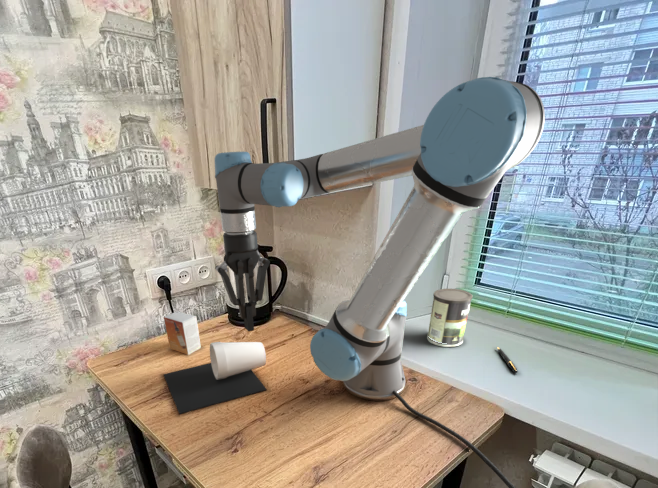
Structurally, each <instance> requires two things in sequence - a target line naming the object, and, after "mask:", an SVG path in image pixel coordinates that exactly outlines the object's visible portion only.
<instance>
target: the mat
mask: <svg viewBox="0 0 658 488" xmlns="http://www.w3.org/2000/svg"><path fill="white" fill-rule="evenodd" d="M163 378H164V380H165V383H166V385H167V387H168V391H169V393H170V395H171V399H172V400H173V402H174V405H175V407H176V410H177V412H178V415H182V414H186V413H191V412H194V411H197V410H201V409H205V408H208V407H211V406H216V405H219V404H222V403H227V402H230V401H234V400H237V399H241V398H244V397H248V396H252V395H255V394H258V393H262V392H266V391H268V390H267V387H265V385H264V384H263V383H262V381H261V380H260V379H259V378H258V376H257V375H256V374H255V372H254V371H253V369H252V370H249V371H245V372H242V373H239V374H235V375H232V376H229V377H226V378H224V379H218V380H217V379H216V378H215V376H214V373H213V369H212V365H211V362H208V363H205V364H204V363H203V364H201V365H197V366H192V367H188V368H184V369H179V370H176V371H175V370H174V371H172V372H167V373H163Z"/></svg>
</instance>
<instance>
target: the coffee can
mask: <svg viewBox="0 0 658 488" xmlns="http://www.w3.org/2000/svg"><path fill="white" fill-rule="evenodd" d="M432 298H433V299H432V305H431V312H430V318H429V324H428V329H427V330H428V331H427V336H426V339H427V341H428V342H429V343H430V344H433V345H435V346H439V347H444V348H453V347H459V346H460V345H463V343H464V336H465V331H466V327H467V321H468V317H469V313H470V309H471V308H470V307H471V303H472V300H473V294H472V293H470V292H469V291H466V290H464V289H459V288H440V289H437V290H435V291H434V292H433V297H432ZM428 336H429V337H430V338H432V339H434V340H436V341H438V342H442V343H447V344H442V343H438V342H435V341H433V340H431V339H430V338H429V337H428Z"/></svg>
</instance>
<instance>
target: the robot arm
mask: <svg viewBox="0 0 658 488" xmlns="http://www.w3.org/2000/svg"><path fill="white" fill-rule="evenodd" d="M545 122H546V112H545V106H544V103H543V100H542V98H541V97H540V95H539V93H538V92H537V91H536V90H535V89H534V88H532V86H529V85H528V84H525V83H522V82H519V81H513V80H505V79H502V78H500V77H498V76H483V77H478V78H474V79H472V80H468V81H467V80H466V81H465V82H463V83H460V84H458V85H455V86H454V87H453V88H451V89H450V90H448V91H447V92H446V93H445V94H444V95H442V96H441V97H440V98H439V100H438V101H437V102H435V104H434V105H433V107H432V108H431V110H430V112H429V113H428V114H427V116H426V119H425V122H424V123H423V124H421V125H418V126H414V127H411V128H407V129H403V130H401V131H397V132H393V133H390V134H385V135H383V136H380V137H376V138H372V139H370V140H366V141H362V142H359V143H356V144H352V145H348V146H345V147H341V148H338V149H333V150H331V151H328V152H325V153H320V154H316V155H313V156H310V157H305V158H300V159H292V160H284V161H276V162H267V163H265V162H263V163H253V161H252V160H251V159H252V158H251V154H250V153H249V152H248V151H225V152H219V153H217V154H215V156H214V173H215V174H214V178H215V181H216V183H215V184H216V189H217V198H218V205H219V212H220V213H219V214H220V221H221V229H222V231H223V232H224V233H223V234H222V240H223V247H224V256H223V262H222V263H220V264H217V265H215V267H214V269H215V271H216V272H217V273H218V275H220V277H221V280H222V282H223V286H224V288H225V291H226V293H227V296H228V298H229V301H230V303H231V304H232V305H233V306H235V307H238V311H239V312H238V313H239V317H240V318H241V319H242V320H243V324H244V329H245V330H246V331H247V332H252V331H255V326H254V317H256V316H257V307H256V306H257V305H258V302H261V301H263V297H264V291H265V284H266V276H267V271H268V268H269V267H270V264H271V261H270V260H269V259H268V258H266V257H262V256H261V253H260V252H259V244H258V235H257V234H258V233H257V231H255V230H256V229H257V222H256V211H255V205H260V206H270V207H275V208H281V207H282V208H283V207H285V208H287V207H289V208H290V207H294V206H295V205H296V204H297V202H298V201H299V200H302V199H306V198H307V199H308V198H312V197H317V196H322V195H326V194H330V193H333V192H338V191H344V190H348V189H354V188H359V187H364V186H368V185H373V184H378V183H383V182H387V181H392V180H393V181H394V180H397V179H398V180H399V179H402V178H407V177H412V178H413V183H414V184H413V187H412V189H411V190H410V192H409V194H408V196H407V198H406V199H405V201H404V203H403V205H402V206H401V208H400V210H399V211H398V213H397V214H396V217H395V219H394V220H393V222H392V224H391V226H390V228H389V230H388V231H387V233H386V235H385V237H384V239H383V240H382V241H381V244H380V246H379V247H378V249H377V251H376V252H375V254H374V256H373V258H372V260H371V261H370V264H369V265H368V266H367V269H366V270H365V272H364V274H363V276H362V277H361V279H360V281H359V282H358V285H357V286H356V288H355V290H354V292H353V293H352V295H351V298H350V299H347V300H343V301H341V302H340V303H339V304H338V305H337V306H336V308H335V310H334V312H333V314H332V315H331V317H330V318H329V321H328V323H327V324H326V326H324V328H321V329H319V330H317V331H316V333H314V335H313V336H312V338H311V340H310V344H309V346H310V347H309V350H310V355H311V356H312V359H313V362H314V364H315V365H316V367H317V368H318V369H319V370H320V372H321V373H323V374H324V375H325V376H326V377H328V378H330V379H331V380H334V381H341V382H342V385H343V387H344V389H345V390H346V392H348V393H349V394H350V395H352V396H354V397H357V398H359V399H362V400H367V401H378V402H380V401H388V400H389V401H390V400H392V399H395V398H396V399H397V400H398V401H399V402H400V403H401V404H402V405H403V406H404V407H405V409H407V410H408V411H409V412H410V413H412V414H413V415H415V416H416V417H419V418H421V419H422V420H424V421H427V422H428V423H431V424H432V425H434V426H436V427H438V428H439V429H440V430H443V431H445V432H447V433H448V434H449V435H451V436H452V437H454V438H455V439H457V440H458V441H460V442H462V444H464V445H465V446H467V447H468V448H469V449H470V450H471V451H472V452H474V454H476V455H477V456H478V457H479V459H481V461H483V462H484V463H485V464H486V465H487V466H488V467H489V468H490V469H491V470H492V471H493V473H495V474H496V475H497V477H499V479H500V480H501V481H502V482H503V483H504V484H505V485H506V487H507V488H516V486H515V485H514V484H513V483H512V482H511V481H510V480H509V479H508V478H507V476H506V475H505V474H503V472H502V471H501V470H500V469H499V468H498V467H497V466H496V465H495V464H494V463H493V462H492V461H491V460H490V459H489V458H488V457H487V456H486V455H485V454H484V453H482V451H480V450H479V449H478V448H477V447H476V446H475V445H474V444H472V443H471V442H470V441H469V440H467V439H466V438H464V437H463V436H462V435H460V434H459V433H458V432H456V431H454V430H452V429H451V428H449V427H448V426H445V424H442V423H441V422H439V421H437V420H435V419H433V418H432V417H429V416H427V415H424V414H423V413H421V412H419V411H417V410H415V409H414V408H413V407H411V405H409V403H408V402H407V400H405V399H404V398H403V397H402V396H401V395H402V394H403V392H404V391H405V388H406V376H405V371H404V368H403V363H402V351H403V344H404V336H405V329H406V320H407V316H408V314H407V312H408V311H407V309H408V303H407V302H406V300H405V299H406V298H407V296H408V295H409V293H410V292H411V291H412V289H413V288H414V286H415V285H416V284H417V282H418V281H419V279H420V278H421V276H422V275H423V273H424V272H425V270H426V269H427V267H428V266H429V264H430V263H431V262H432V261H433V259H434V257H435V256H436V254H437V253H438V251H439V250H440V248H441V247H442V245H443V244H444V242H445V241H446V240H447V238H448V237H449V236H450V234H451V232H452V231H453V230H454V228H455V226H456V225H457V223H458V222H459V220H460V219H461V218H462V216H463V214H465V213H467V212H470V211H475V210H477V209H479V208H481V207H482V205H483V204H484V203H485V202H486V200H487V198H489V196H490V194H491V193H492V192H493V190H494V189H495V187H496V186H497V185H498V183H499V182H500V180H501V179H502V178H503V176H504V175H505V173H506V172H507V171H509V170H511V169H513V168H515V167H516V166H518V165H520V164H521V163H522V162H523V161H524V160H525V159H526V158H528V157H529V156H530V155H531V153H532V152H533V151H534V149H535V148H536V146H537V145H538V143H539V142H540V140H541V137H542V134H543V132H544V127H545V124H546V123H545ZM257 265H258V268H257V273H256V279H254V277H255V272H254V271H255V268H256V266H257ZM228 268H229V269H230V271H232V272H233V276H234V282H235V289H234V287H233V284H232V282H231V279H230V276H229V275H228V271H229V269H228ZM244 276H245V277H244ZM244 278H245V285H244ZM245 286H246V292H245ZM235 290H236V293H235ZM245 293H246V294H245ZM246 296H247V302H246Z"/></svg>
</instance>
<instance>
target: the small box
mask: <svg viewBox="0 0 658 488" xmlns="http://www.w3.org/2000/svg"><path fill="white" fill-rule="evenodd" d="M163 320H164V326H165V331H166V335H167V336H166V337H167V340H168V346H169V350H172V351H176V352H178V353H182V354H185V355H186V356H190V355H191V354H193V353H195V352H196V351H198V350H200V349H201V348H202V346H201V344H202V343H201V339H200V338H201V337H200V332H199V325H198V319H197V316H196V315H193V314H190V313H189V314H188V313H185V312H182V311H179V310H177V311H173V312H172V313H170V314H167V315H165V316H163Z"/></svg>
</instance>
